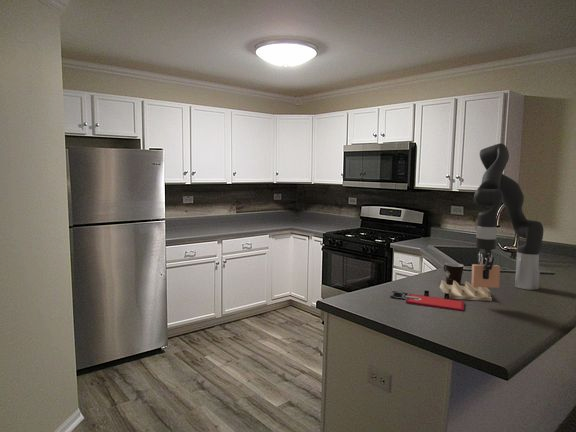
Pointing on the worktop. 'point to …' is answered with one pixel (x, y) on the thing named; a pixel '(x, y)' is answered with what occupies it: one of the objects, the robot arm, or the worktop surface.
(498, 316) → the worktop surface
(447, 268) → the coffee mug
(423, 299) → the red board with handle
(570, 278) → the worktop surface
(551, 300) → the worktop surface
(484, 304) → the worktop surface
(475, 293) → the dish rack
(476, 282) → the tile
